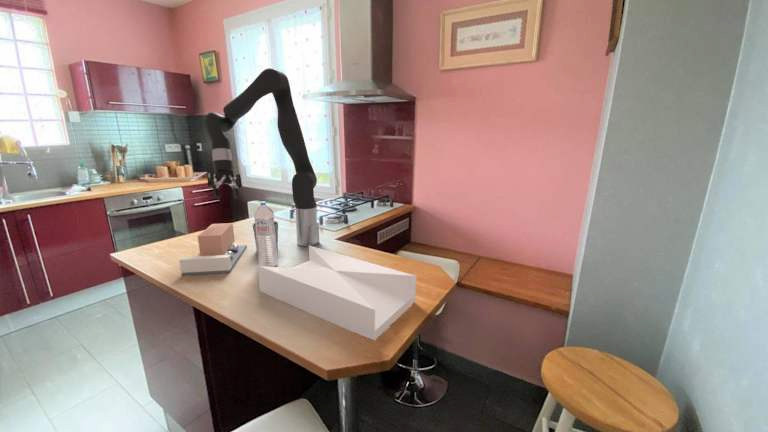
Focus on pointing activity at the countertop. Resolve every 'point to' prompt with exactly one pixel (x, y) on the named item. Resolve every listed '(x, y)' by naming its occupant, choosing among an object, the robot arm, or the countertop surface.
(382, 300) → the building model
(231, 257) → the front roller
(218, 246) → the terracotta block
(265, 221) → the water bottle
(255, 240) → the grey pot
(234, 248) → the rear roller
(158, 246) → the countertop surface
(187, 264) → the grey piece
